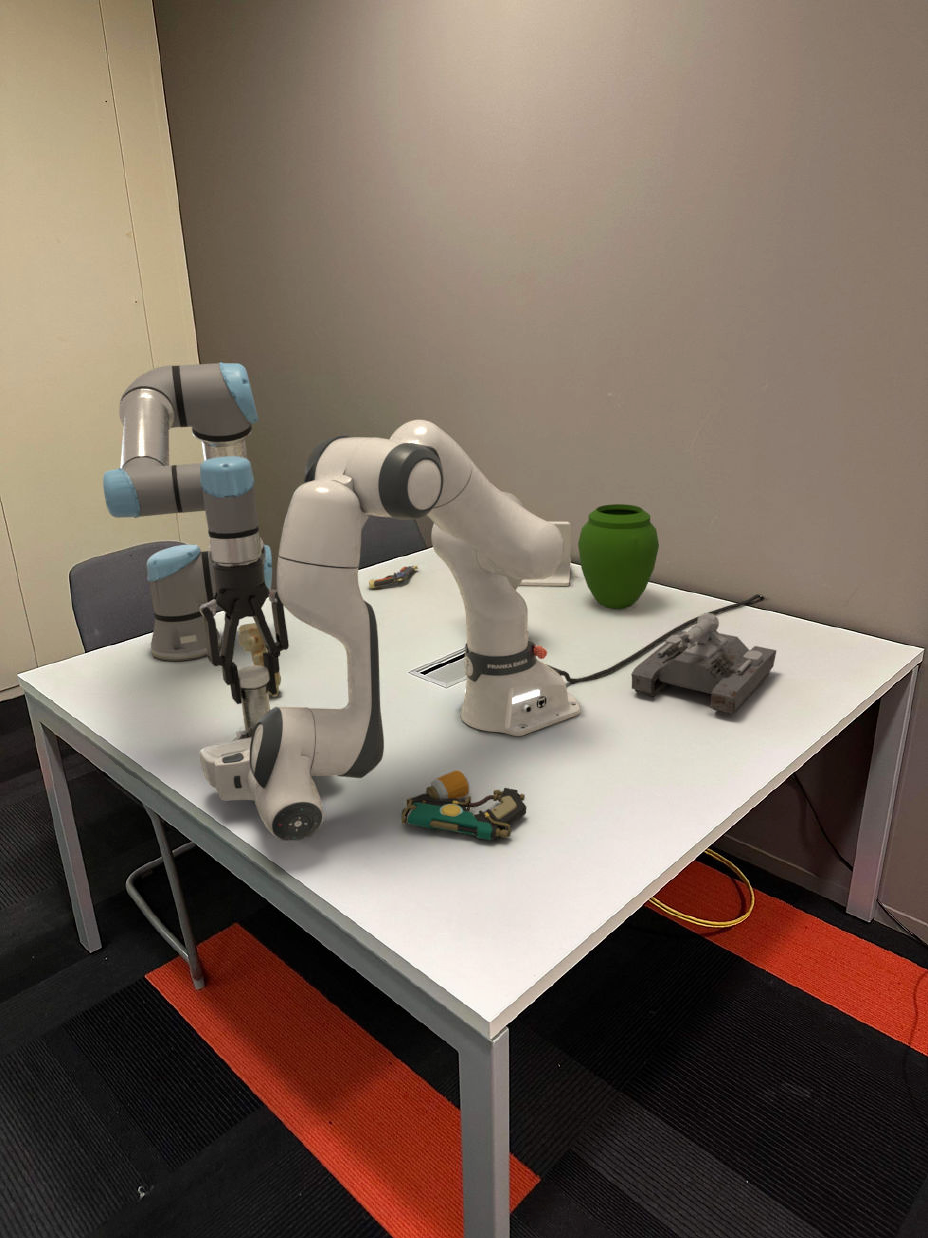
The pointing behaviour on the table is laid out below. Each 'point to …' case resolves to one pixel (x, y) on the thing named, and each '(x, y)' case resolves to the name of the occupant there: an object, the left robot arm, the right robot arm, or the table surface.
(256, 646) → the sculpture
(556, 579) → the tablet stand
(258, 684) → the lid
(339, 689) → the table surface
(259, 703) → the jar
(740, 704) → the toy
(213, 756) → the right robot arm
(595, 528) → the vase
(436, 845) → the table surface
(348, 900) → the table surface
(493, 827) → the spray gun
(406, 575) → the toy gun
